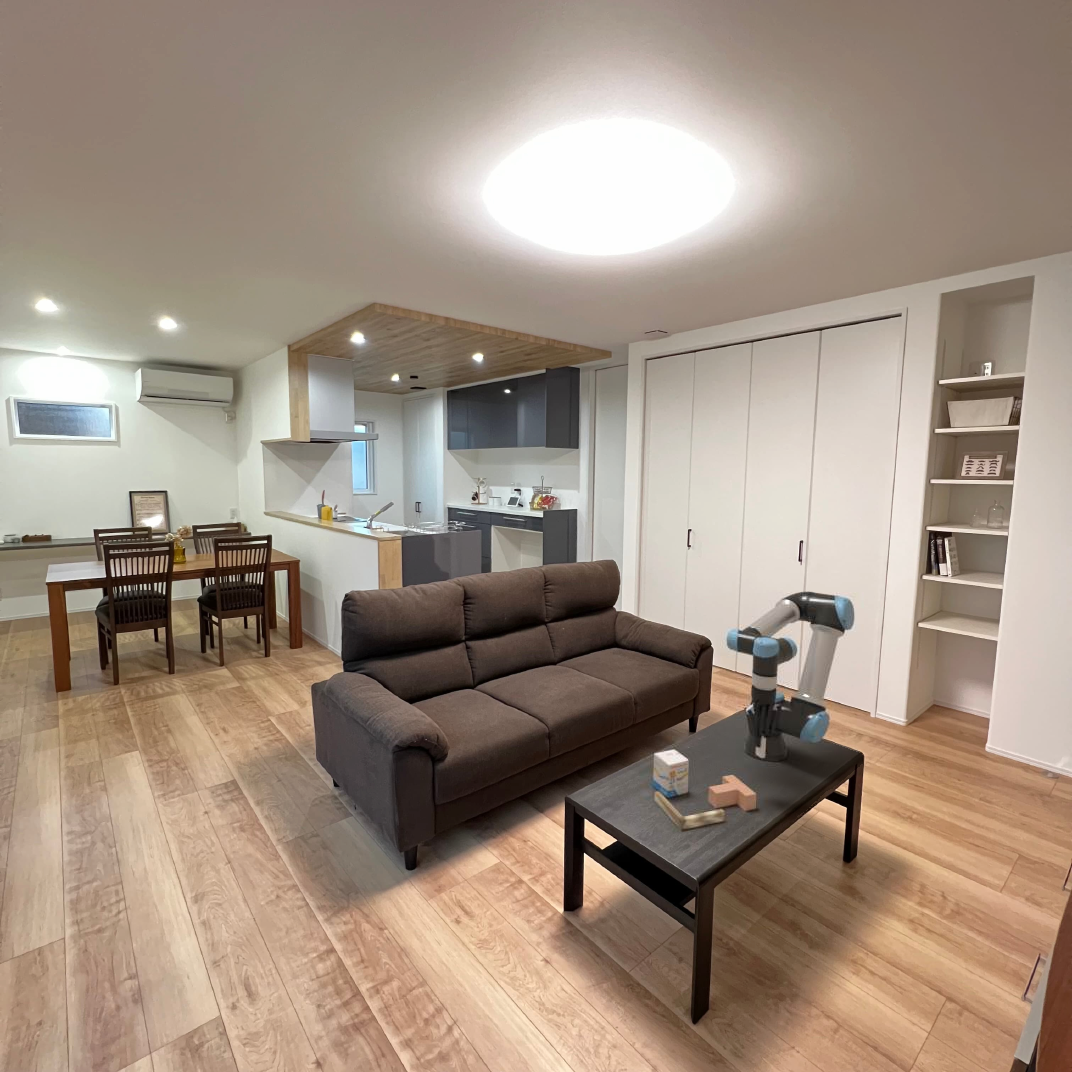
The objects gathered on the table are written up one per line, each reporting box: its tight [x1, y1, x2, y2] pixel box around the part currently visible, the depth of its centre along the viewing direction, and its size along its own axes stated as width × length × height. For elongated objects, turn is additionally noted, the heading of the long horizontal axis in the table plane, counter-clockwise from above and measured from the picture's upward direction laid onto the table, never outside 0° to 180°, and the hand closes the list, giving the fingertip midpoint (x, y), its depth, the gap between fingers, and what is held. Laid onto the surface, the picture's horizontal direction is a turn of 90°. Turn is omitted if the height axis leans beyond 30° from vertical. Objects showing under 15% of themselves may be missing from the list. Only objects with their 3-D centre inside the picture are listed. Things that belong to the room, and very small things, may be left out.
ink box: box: [652, 749, 690, 799], centre depth 191 cm, size 9×8×12 cm
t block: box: [707, 774, 757, 812], centre depth 184 cm, size 12×12×5 cm
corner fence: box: [654, 790, 726, 831], centre depth 180 cm, size 15×16×3 cm
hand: (760, 755), depth 187 cm, fingers closed
